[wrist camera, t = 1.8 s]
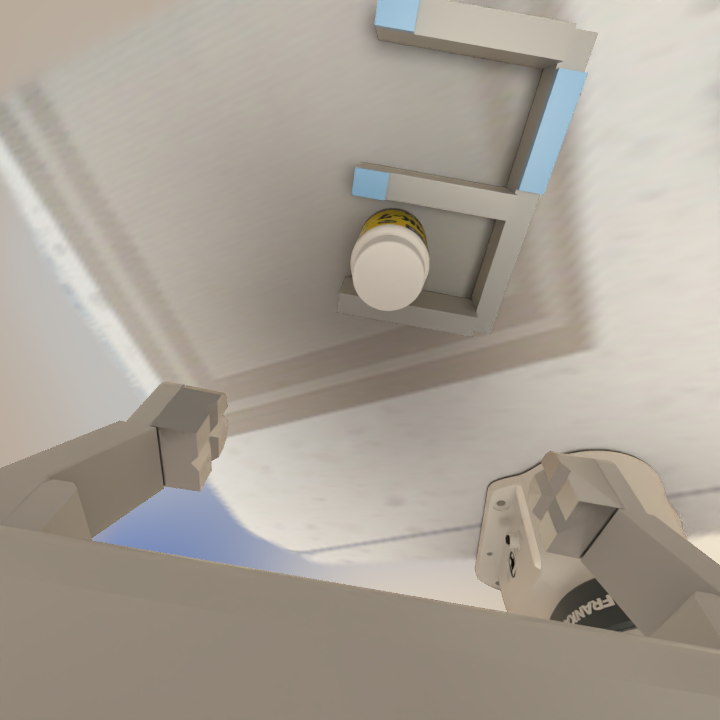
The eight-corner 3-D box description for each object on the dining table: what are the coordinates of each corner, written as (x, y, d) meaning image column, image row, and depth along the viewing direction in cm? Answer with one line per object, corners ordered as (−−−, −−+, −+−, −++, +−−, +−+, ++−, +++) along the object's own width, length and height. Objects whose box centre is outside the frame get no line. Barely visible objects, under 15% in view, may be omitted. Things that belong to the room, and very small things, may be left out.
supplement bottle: (437, 224, 28) (449, 257, 21) (407, 282, 31) (408, 331, 24) (375, 194, 28) (365, 218, 21) (349, 256, 30) (332, 297, 23)
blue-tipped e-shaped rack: (484, 320, 32) (494, 344, 28) (343, 294, 32) (335, 316, 28) (579, 41, 23) (612, 26, 19) (383, 6, 23) (379, -16, 19)
